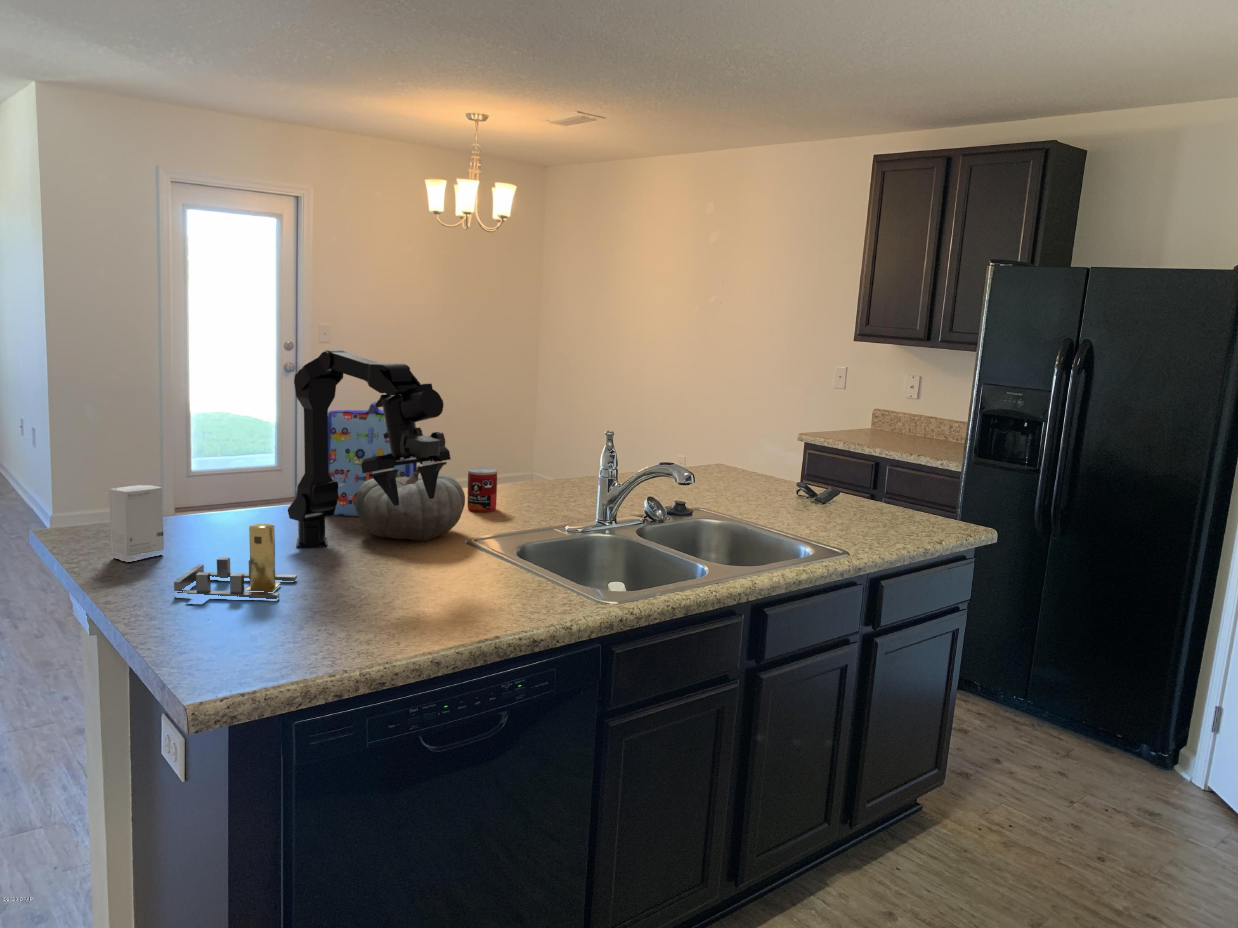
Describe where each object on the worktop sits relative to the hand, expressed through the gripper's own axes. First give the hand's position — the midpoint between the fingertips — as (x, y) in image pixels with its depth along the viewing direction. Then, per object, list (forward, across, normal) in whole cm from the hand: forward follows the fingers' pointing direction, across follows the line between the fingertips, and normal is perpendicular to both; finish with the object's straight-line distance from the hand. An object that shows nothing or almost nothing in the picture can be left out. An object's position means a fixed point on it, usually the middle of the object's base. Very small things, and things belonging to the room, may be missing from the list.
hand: (414, 502), depth 180 cm
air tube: (+11, -26, +17) cm, 33 cm away
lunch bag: (+2, +29, +52) cm, 59 cm away
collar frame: (+11, -30, +19) cm, 37 cm away
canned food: (+6, +52, +35) cm, 63 cm away
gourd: (+8, +21, +28) cm, 36 cm away
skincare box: (+2, -31, +52) cm, 60 cm away
